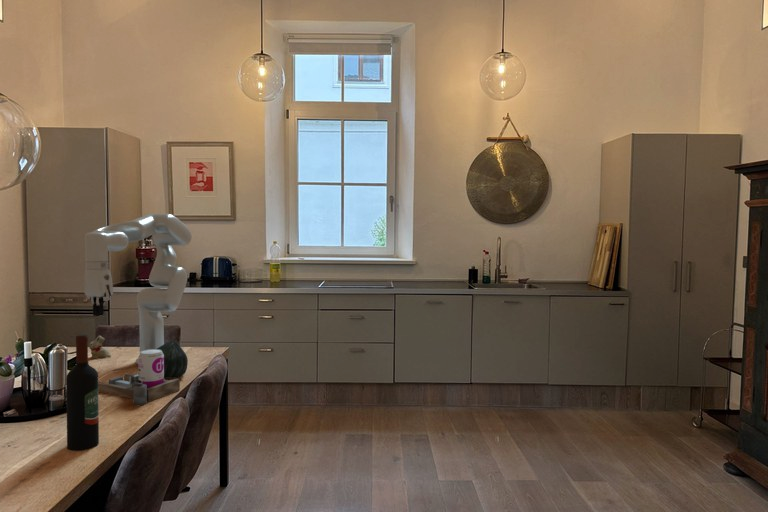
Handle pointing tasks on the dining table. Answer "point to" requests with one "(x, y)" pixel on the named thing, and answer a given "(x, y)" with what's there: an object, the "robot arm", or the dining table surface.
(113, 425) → the dining table surface
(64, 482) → the dining table surface
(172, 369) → the squash
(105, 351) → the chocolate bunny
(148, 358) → the supplement can
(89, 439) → the wine bottle
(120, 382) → the follower
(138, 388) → the bay
